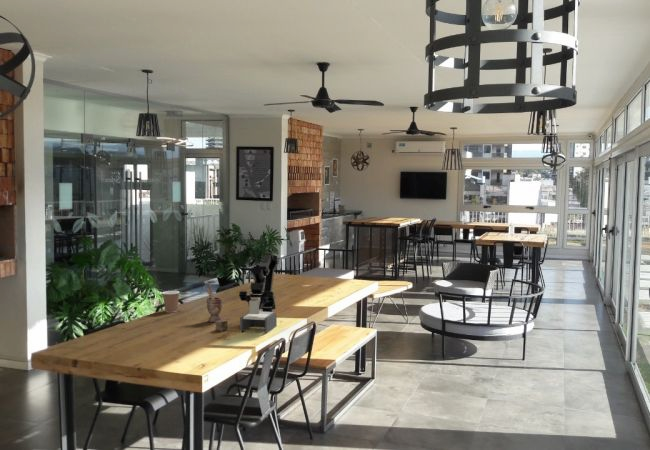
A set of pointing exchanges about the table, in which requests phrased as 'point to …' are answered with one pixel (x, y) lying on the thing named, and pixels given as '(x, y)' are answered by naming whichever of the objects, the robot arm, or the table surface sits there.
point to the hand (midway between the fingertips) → (254, 309)
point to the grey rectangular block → (254, 306)
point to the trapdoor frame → (259, 322)
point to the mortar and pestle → (213, 306)
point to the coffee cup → (171, 300)
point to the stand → (221, 325)
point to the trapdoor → (258, 316)
